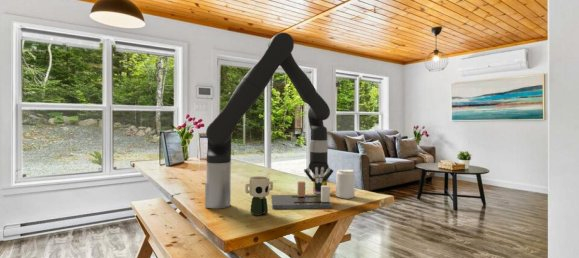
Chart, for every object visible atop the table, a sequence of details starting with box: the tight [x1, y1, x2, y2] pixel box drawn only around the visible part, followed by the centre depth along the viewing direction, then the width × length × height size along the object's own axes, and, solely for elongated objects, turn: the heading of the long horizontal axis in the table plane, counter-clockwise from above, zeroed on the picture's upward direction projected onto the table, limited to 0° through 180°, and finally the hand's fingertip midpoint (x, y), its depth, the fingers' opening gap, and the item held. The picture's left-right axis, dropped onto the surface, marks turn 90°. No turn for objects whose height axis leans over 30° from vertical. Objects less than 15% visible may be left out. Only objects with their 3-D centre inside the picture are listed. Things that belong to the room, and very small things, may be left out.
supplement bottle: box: [312, 171, 328, 195], centre depth 142 cm, size 7×7×13 cm
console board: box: [270, 194, 333, 210], centre depth 124 cm, size 23×16×2 cm
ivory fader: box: [320, 185, 331, 203], centre depth 120 cm, size 3×2×6 cm
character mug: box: [244, 175, 274, 216], centre depth 109 cm, size 11×7×13 cm, turn 122°
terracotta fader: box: [296, 180, 306, 197], centre depth 128 cm, size 3×2×6 cm
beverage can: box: [335, 168, 356, 200], centre depth 135 cm, size 8×8×12 cm
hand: (318, 191), depth 129 cm, fingers closed
